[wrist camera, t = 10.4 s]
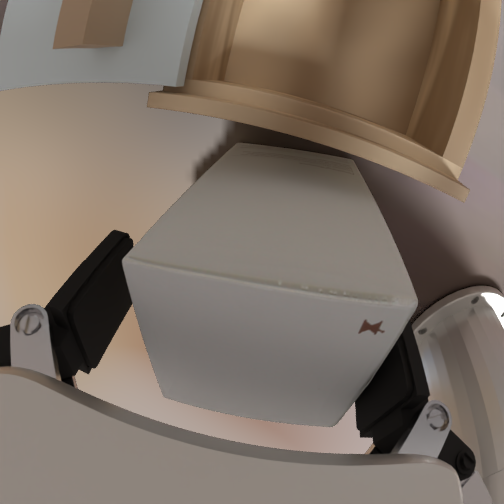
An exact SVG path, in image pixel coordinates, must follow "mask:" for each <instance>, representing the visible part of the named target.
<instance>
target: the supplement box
mask: <svg viewBox="0 0 504 504" xmlns="http://www.w3.org/2000/svg"><path fill="white" fill-rule="evenodd" d="M122 265H123V270H124V273H125V277H126V281H127V285H128V289H129V292H130V296H131V300H132V303H133V307H134V310H135V314H136V317H137V320H138V324H139V327H140V331H141V334H142V337H143V340H144V343H145V346H146V349H147V352H148V355H149V358H150V361H151V364H152V367H153V369H154V372H155V375H156V378H157V381H158V383H159V386H160V388H161V391H162V394H163V396H164V397H165V398H168V399H171V400H175V401H178V402H181V403H184V404H188V405H192V406H196V407H199V408H204V409H208V410H212V411H216V412H221V413H225V414H230V415H235V416H240V417H246V418H252V419H258V420H264V421H271V422H279V423H287V424H297V425H309V426H323V427H333V426H335V425H336V424H337V423H338V422H339V421H340V420H341V418H342V417H343V416H344V414H345V413H346V412H347V411H348V409H349V408H350V407H351V406H352V404H353V403H354V402H355V401H356V399H357V398H358V397H359V395H360V394H361V393H362V391H363V390H364V389H365V387H366V386H367V385H368V384H369V383H370V381H371V380H372V378H373V377H374V375H375V373H376V372H377V370H378V369H379V367H380V366H381V364H382V363H383V361H384V360H385V358H386V357H387V355H388V354H389V352H390V351H391V349H392V347H393V346H394V344H395V343H396V341H397V340H398V338H399V336H400V335H401V333H402V331H403V330H404V328H405V326H406V324H407V323H408V321H409V319H410V318H411V316H412V315H413V313H414V312H415V310H416V308H417V306H418V299H417V296H416V293H415V291H414V288H413V285H412V282H411V280H410V277H409V275H408V272H407V270H406V267H405V265H404V262H403V260H402V258H401V255H400V253H399V251H398V248H397V246H396V244H395V242H394V239H393V237H392V235H391V232H390V230H389V228H388V226H387V224H386V222H385V220H384V218H383V216H382V214H381V212H380V209H379V207H378V205H377V203H376V201H375V200H374V197H373V196H372V194H371V192H370V190H369V188H368V186H367V184H366V183H365V181H364V179H363V177H362V175H361V173H360V171H359V170H358V168H357V166H356V164H355V163H354V161H353V160H352V159H347V158H342V157H337V156H332V155H326V154H321V153H315V152H309V151H302V150H296V149H289V148H281V147H274V146H266V145H257V144H248V143H236V144H235V145H234V146H233V147H232V148H231V149H230V150H229V151H227V152H226V153H225V154H224V155H223V156H222V157H221V158H220V159H219V160H218V161H217V162H216V163H215V164H214V165H212V166H211V167H210V168H209V169H208V170H207V171H206V172H205V173H204V174H203V175H202V176H201V177H200V178H199V179H198V180H197V181H196V182H195V183H194V184H193V185H192V186H191V187H190V188H189V189H188V190H187V191H186V192H185V193H184V194H183V195H182V196H181V197H180V198H179V199H178V200H177V201H176V202H175V203H174V204H173V205H172V206H171V207H170V208H169V210H167V212H166V213H165V214H163V215H162V216H161V217H160V219H159V220H158V221H157V222H156V223H155V224H154V225H153V226H152V227H151V228H150V229H149V230H148V232H147V233H146V234H145V235H144V236H143V237H142V238H141V240H140V241H139V242H138V243H137V244H136V245H135V246H134V247H133V248H132V249H131V250H130V251H129V253H128V254H127V255H126V256H125V257H124V258H123V260H122Z"/></svg>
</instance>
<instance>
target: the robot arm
mask: <svg viewBox="0 0 504 504" xmlns="http://www.w3.org/2000/svg"><path fill="white" fill-rule="evenodd" d="M132 248H133V240H132V239H131V238H130V236H129V234H128V233H124V232H121V231H117V230H113V231H112V232H111V233H110V234H109V235H108V236H107V237H106V238H105V239H104V240H103V241H102V242H101V243H100V244H99V245H98V246H97V248H96V249H95V250H94V251H93V252H92V253H91V254H90V255H89V256H88V258H87V259H86V260H84V261H83V262H82V263H81V264H80V266H79V267H78V268H77V269H76V270H75V271H74V272H73V274H72V275H71V276H70V277H69V278H68V280H67V281H66V282H65V283H64V285H63V286H62V287H61V288H60V289H59V290H58V292H57V293H56V294H55V295H54V297H53V298H52V299H51V300H50V302H49V303H48V304H47V305H46V307H45V308H43V307H41V306H40V305H36V304H28V305H25V306H23V307H21V308H20V309H18V310H17V311H16V312H15V313H14V315H13V317H12V319H11V324H10V325H6V326H3V327H0V504H504V296H503V294H502V293H501V292H500V291H499V290H497V289H496V288H493V287H490V286H474V287H469V288H466V289H462V290H459V291H457V292H455V293H452V294H450V295H448V296H446V297H445V298H443V299H441V300H440V301H438V302H436V303H435V304H434V305H432V306H431V307H430V308H428V309H427V310H426V311H425V312H424V313H423V314H422V315H421V316H420V317H418V318H417V319H416V321H415V322H414V323H413V324H412V325H411V323H410V319H409V321H408V323H407V324H406V326H405V328H404V330H403V331H402V333H401V335H400V336H399V338H398V340H397V341H396V343H395V344H394V346H393V347H392V349H391V351H390V352H389V354H388V355H387V357H386V358H385V360H384V361H383V363H382V364H381V366H380V367H379V369H378V370H377V372H376V373H375V375H374V377H373V378H372V380H371V381H370V383H369V384H368V385H367V386H366V387H365V389H364V390H363V391H362V393H361V394H360V395H359V397H358V398H357V399H356V401H355V407H356V424H357V429H358V430H360V437H368V438H370V437H371V438H372V437H373V444H372V445H371V446H370V447H369V449H368V450H367V451H366V453H365V454H331V453H314V452H303V451H293V450H284V449H276V448H269V447H262V446H256V445H250V444H245V443H240V442H235V441H229V440H225V439H220V438H216V437H211V436H208V435H204V434H200V433H196V432H192V431H188V430H185V429H181V428H178V427H175V426H171V425H168V424H165V423H162V422H159V421H156V420H152V419H150V418H147V417H144V416H141V415H139V414H136V413H133V412H130V411H128V410H125V409H123V408H120V407H118V406H116V405H113V404H110V403H108V402H106V401H103V400H101V399H99V398H96V397H94V396H91V395H90V394H87V393H85V392H83V391H81V390H79V389H78V387H77V384H76V379H75V375H76V373H77V371H78V370H81V371H83V372H85V373H87V374H89V373H90V371H91V369H92V368H96V367H97V366H98V364H99V362H100V360H101V358H102V356H103V354H104V353H105V351H106V349H107V347H108V345H109V344H110V342H111V340H112V338H113V336H114V335H115V333H116V331H117V329H118V328H119V326H120V324H121V322H122V321H123V319H124V317H125V315H126V314H127V312H128V310H129V308H130V307H131V305H132V304H133V303H132V300H131V296H130V292H129V289H128V285H127V281H126V277H125V273H124V270H123V265H122V260H123V258H124V257H125V256H126V255H127V254H128V253H129V251H130V250H131V249H132Z"/></svg>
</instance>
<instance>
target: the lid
mask: <svg viewBox="0 0 504 504" xmlns="http://www.w3.org/2000/svg"><path fill="white" fill-rule="evenodd" d="M202 3H203V0H8V3H7V7H6V11H5V15H4V20H3V24H2V29H1V34H0V91H2V90H9V89H15V88H22V87H30V86H40V85H51V84H64V83H91V82H92V83H95V82H96V83H99V82H101V83H103V82H104V83H137V84H152V85H163V86H173V87H179V86H184V82H185V77H186V71H187V66H188V62H189V57H190V52H191V47H192V43H193V39H194V34H195V30H196V26H197V22H198V18H199V14H200V10H201V7H202Z"/></svg>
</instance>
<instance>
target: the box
mask: <svg viewBox="0 0 504 504" xmlns="http://www.w3.org/2000/svg"><path fill="white" fill-rule="evenodd" d="M500 15H501V0H203V3H202V7H201V10H200V14H199V18H198V22H197V26H196V30H195V34H194V39H193V43H192V47H191V52H190V57H189V62H188V66H187V71H186V77H185V82H184V86H179V87H173V86H164V87H163V91H156V92H149V96H148V103H147V107H150V108H159V109H166V110H174V111H181V112H187V113H193V114H199V115H205V116H211V117H216V118H221V119H226V120H231V121H236V122H240V123H245V124H249V125H254V126H258V127H262V128H266V129H270V130H274V131H278V132H282V133H286V134H289V135H293V136H296V137H300V138H303V139H307V140H310V141H313V142H317V143H320V144H323V145H326V146H329V147H332V148H335V149H338V150H341V151H344V152H347V153H350V154H353V155H356V156H359V157H361V158H364V159H367V160H369V161H372V162H375V163H377V164H380V165H382V166H385V167H387V168H390V169H392V170H395V171H397V172H400V173H402V174H404V175H407V176H409V177H411V178H414V179H416V180H418V181H420V182H423V183H425V184H427V185H429V186H431V187H433V188H436V189H438V190H440V191H442V192H444V193H446V194H448V195H450V196H452V197H454V198H456V199H458V200H460V201H462V202H465V200H466V198H467V196H468V194H469V191H470V190H469V189H468V188H467V187H465V186H464V185H463V184H462V183H460V182H459V181H458V178H459V175H460V173H461V171H462V168H463V166H464V163H465V161H466V158H467V155H468V153H469V150H470V147H471V144H472V142H473V139H474V136H475V133H476V130H477V127H478V123H479V120H480V117H481V114H482V110H483V107H484V103H485V100H486V96H487V92H488V88H489V84H490V79H491V75H492V70H493V65H494V60H495V54H496V48H497V42H498V34H499V26H500Z"/></svg>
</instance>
